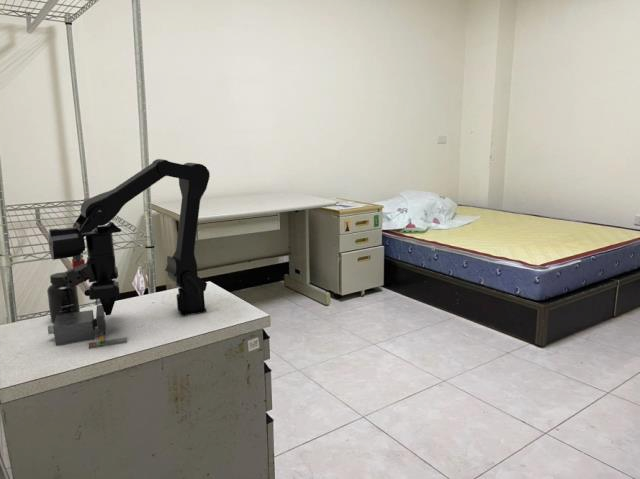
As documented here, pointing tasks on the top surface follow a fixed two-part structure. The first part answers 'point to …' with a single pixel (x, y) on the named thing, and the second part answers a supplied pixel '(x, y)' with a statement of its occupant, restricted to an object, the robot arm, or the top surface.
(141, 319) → the top surface
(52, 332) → the gauge plunger
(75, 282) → the robot arm
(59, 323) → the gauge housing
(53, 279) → the supplement bottle
